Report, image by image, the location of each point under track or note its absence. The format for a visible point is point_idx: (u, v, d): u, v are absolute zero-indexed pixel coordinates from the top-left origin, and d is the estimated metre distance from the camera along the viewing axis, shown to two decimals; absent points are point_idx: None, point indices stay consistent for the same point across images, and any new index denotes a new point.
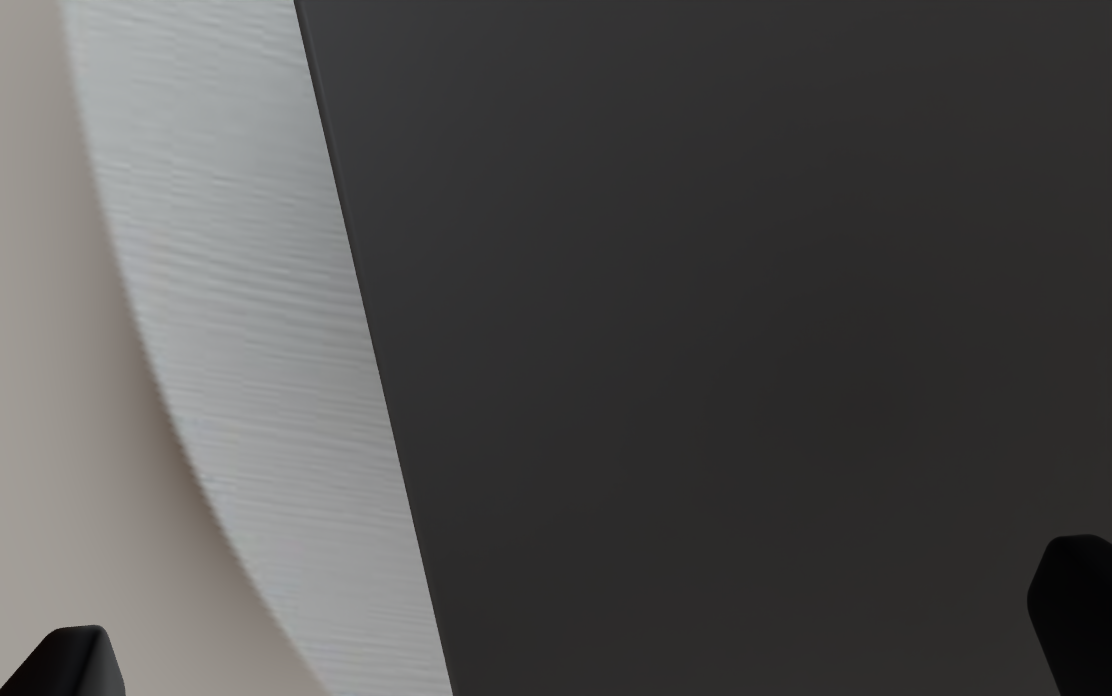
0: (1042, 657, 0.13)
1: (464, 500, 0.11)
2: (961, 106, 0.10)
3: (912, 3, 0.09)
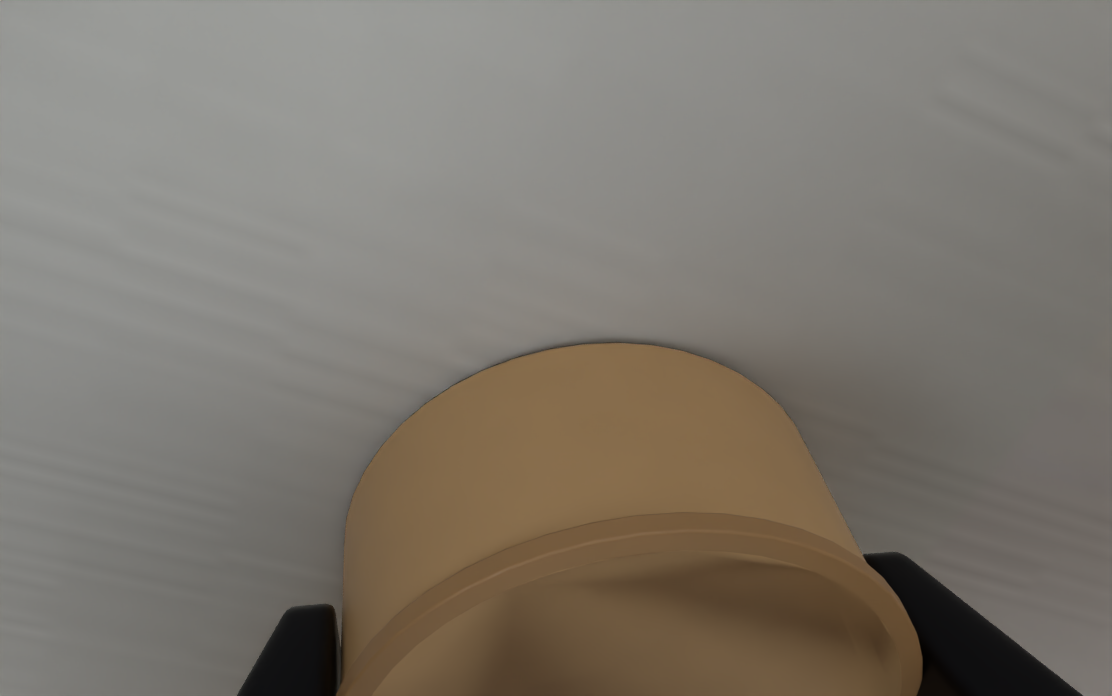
0: None
1: None
2: None
3: None
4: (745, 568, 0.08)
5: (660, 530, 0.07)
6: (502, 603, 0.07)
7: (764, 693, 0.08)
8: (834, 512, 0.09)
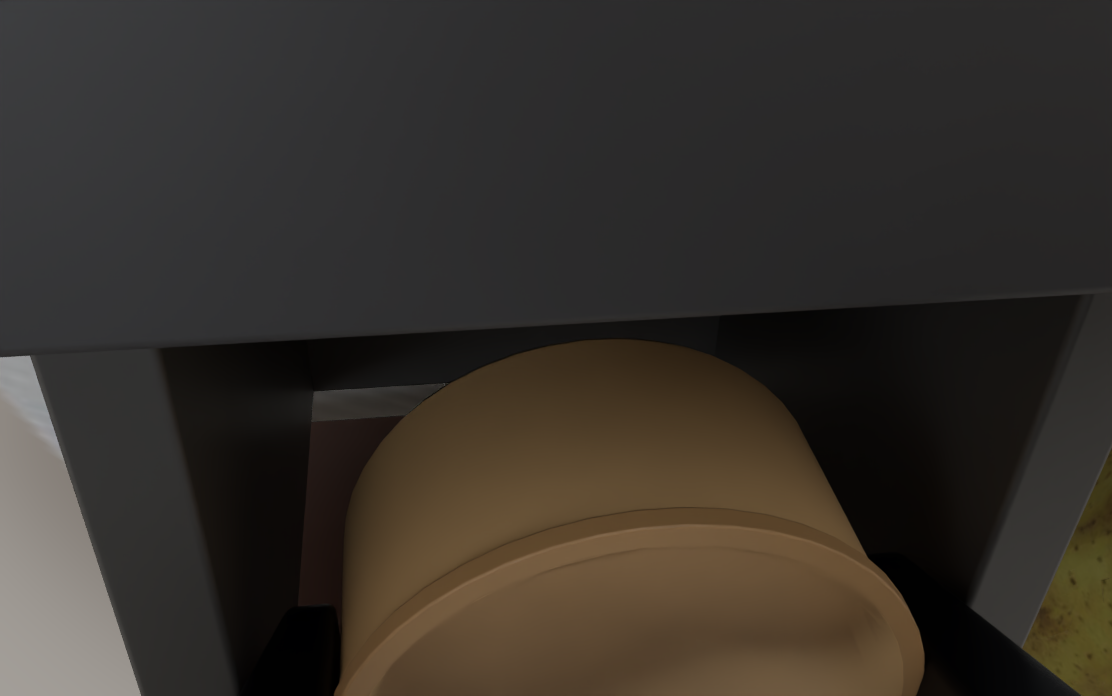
0: (1086, 137, 0.05)
1: None
2: None
3: None
4: (747, 564, 0.07)
5: (661, 525, 0.07)
6: (502, 598, 0.07)
7: (765, 689, 0.08)
8: (836, 507, 0.09)
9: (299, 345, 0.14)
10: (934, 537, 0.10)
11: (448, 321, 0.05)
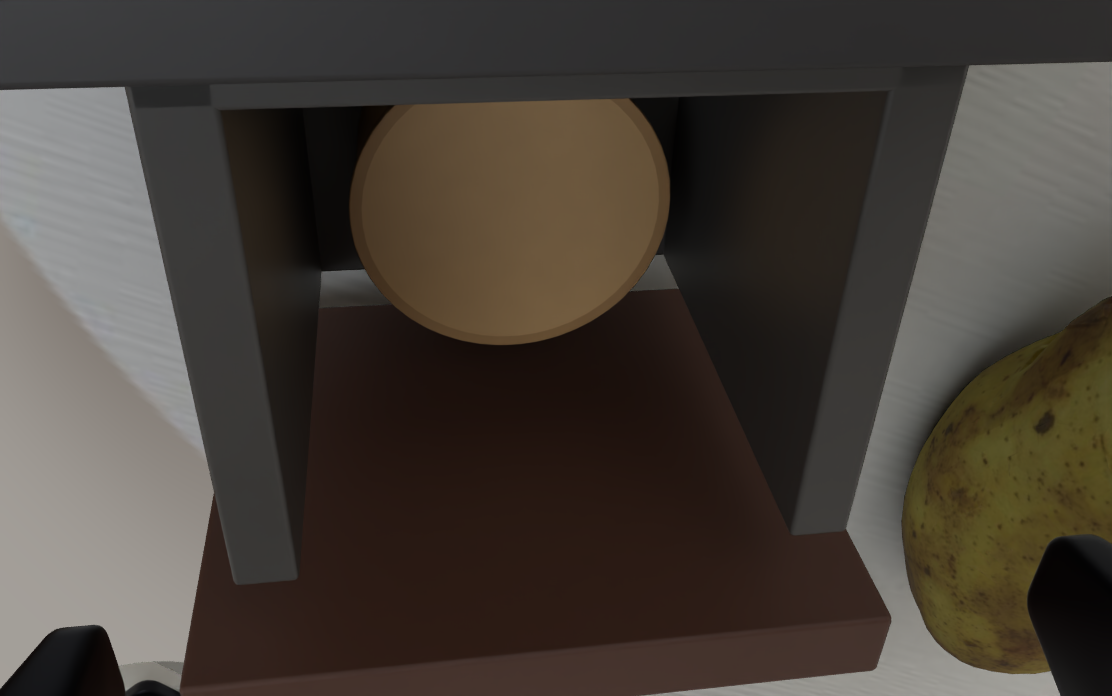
0: None
1: None
2: None
3: None
4: None
5: None
6: None
7: (581, 178, 0.16)
8: None
9: (310, 221, 0.17)
10: (808, 324, 0.13)
11: (421, 71, 0.08)
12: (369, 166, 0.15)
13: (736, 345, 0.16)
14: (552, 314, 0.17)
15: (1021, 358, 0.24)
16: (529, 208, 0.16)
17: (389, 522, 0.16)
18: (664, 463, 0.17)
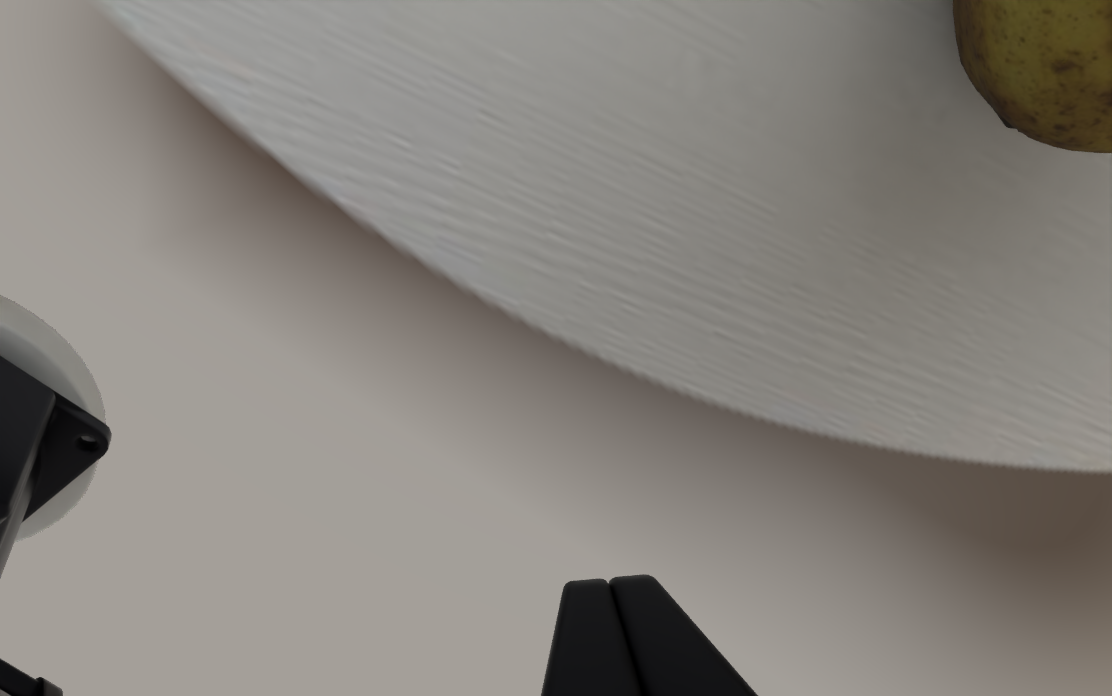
0: None
1: None
2: None
3: None
4: None
5: None
6: None
7: None
8: None
9: None
10: None
11: None
12: None
13: None
14: None
15: None
16: None
17: None
18: None
